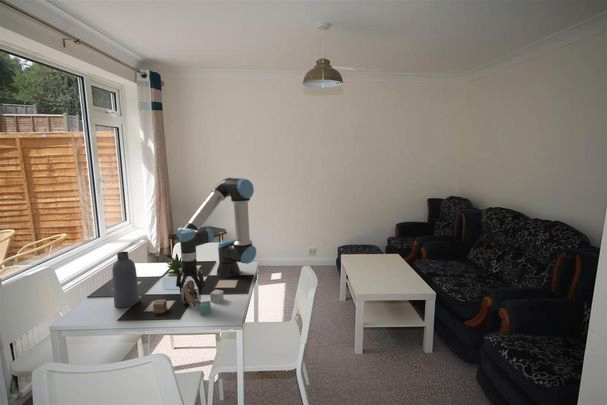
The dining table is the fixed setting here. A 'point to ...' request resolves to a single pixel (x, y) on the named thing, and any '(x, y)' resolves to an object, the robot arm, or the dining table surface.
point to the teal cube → (205, 308)
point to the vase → (125, 281)
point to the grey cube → (216, 296)
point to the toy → (189, 293)
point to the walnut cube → (159, 306)
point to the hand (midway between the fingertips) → (191, 299)
